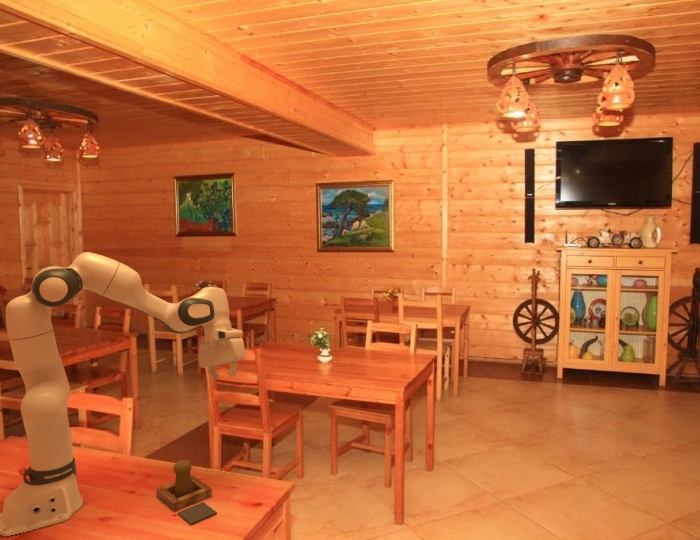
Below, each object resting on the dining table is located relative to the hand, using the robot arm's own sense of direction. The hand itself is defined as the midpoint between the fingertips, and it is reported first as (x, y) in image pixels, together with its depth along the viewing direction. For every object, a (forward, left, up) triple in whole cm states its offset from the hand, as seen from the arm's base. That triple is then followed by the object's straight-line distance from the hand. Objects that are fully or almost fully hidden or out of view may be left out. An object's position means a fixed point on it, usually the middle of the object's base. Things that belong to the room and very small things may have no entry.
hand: (223, 378), depth 177 cm
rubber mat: (-19, -15, -32) cm, 40 cm away
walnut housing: (-17, -3, -32) cm, 37 cm away
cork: (-17, -3, -33) cm, 37 cm away
